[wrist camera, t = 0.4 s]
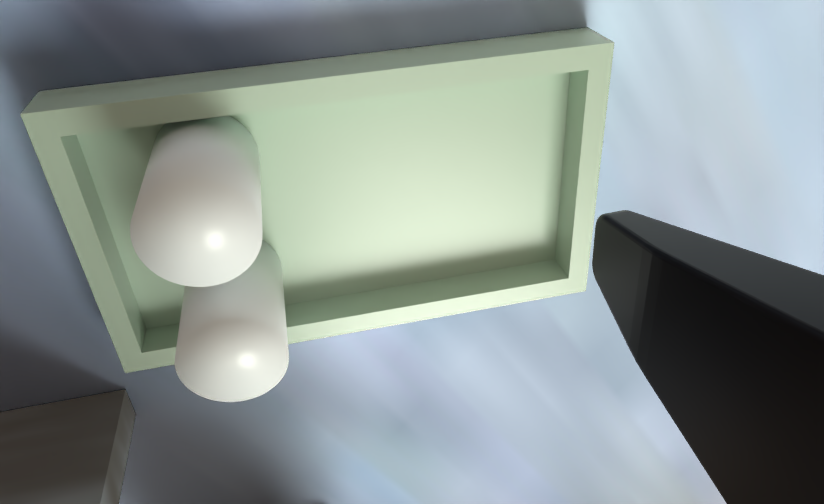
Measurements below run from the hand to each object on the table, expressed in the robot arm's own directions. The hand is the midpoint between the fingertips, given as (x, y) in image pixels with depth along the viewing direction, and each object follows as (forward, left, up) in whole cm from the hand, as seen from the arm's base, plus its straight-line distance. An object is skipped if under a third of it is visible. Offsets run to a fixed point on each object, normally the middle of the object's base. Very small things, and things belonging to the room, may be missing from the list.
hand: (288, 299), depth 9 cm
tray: (-6, -2, -14) cm, 15 cm away
